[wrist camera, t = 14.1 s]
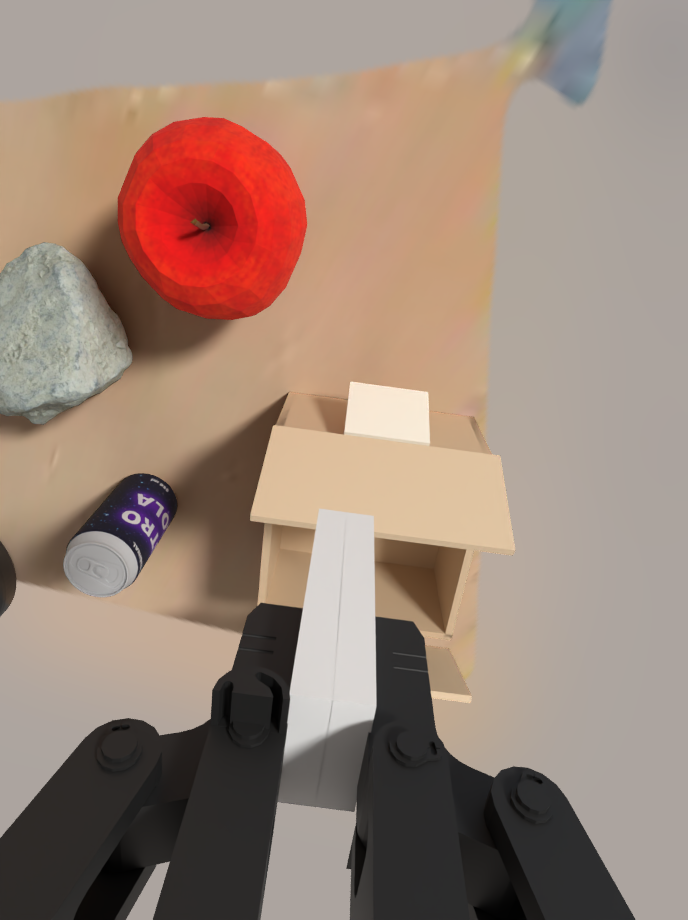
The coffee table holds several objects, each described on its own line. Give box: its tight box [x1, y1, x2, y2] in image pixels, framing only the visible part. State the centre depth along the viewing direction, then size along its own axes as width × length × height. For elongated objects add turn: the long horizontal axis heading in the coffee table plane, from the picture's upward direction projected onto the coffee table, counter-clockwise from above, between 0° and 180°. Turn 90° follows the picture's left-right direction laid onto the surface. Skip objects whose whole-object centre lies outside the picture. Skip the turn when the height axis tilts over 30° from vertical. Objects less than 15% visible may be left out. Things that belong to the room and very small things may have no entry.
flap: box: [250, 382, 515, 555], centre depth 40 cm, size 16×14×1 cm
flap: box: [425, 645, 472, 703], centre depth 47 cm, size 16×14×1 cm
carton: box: [257, 392, 492, 641], centre depth 49 cm, size 16×16×10 cm
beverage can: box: [63, 474, 177, 597], centre depth 50 cm, size 6×6×12 cm
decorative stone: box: [0, 242, 132, 425], centre depth 47 cm, size 13×11×10 cm
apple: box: [118, 117, 307, 320], centre depth 39 cm, size 12×12×13 cm
